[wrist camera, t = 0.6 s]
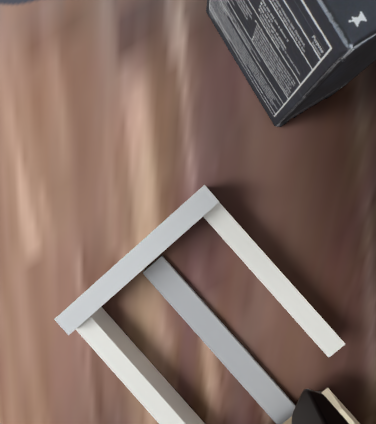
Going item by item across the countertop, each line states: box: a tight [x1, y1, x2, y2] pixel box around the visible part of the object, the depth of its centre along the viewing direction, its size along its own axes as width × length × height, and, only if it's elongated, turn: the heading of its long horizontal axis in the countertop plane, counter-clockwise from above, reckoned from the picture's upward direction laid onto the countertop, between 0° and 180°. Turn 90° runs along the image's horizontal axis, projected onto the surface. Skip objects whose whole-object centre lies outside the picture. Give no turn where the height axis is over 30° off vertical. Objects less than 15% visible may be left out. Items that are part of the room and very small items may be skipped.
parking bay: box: [54, 185, 345, 424], centre depth 20 cm, size 14×29×3 cm, turn 42°
